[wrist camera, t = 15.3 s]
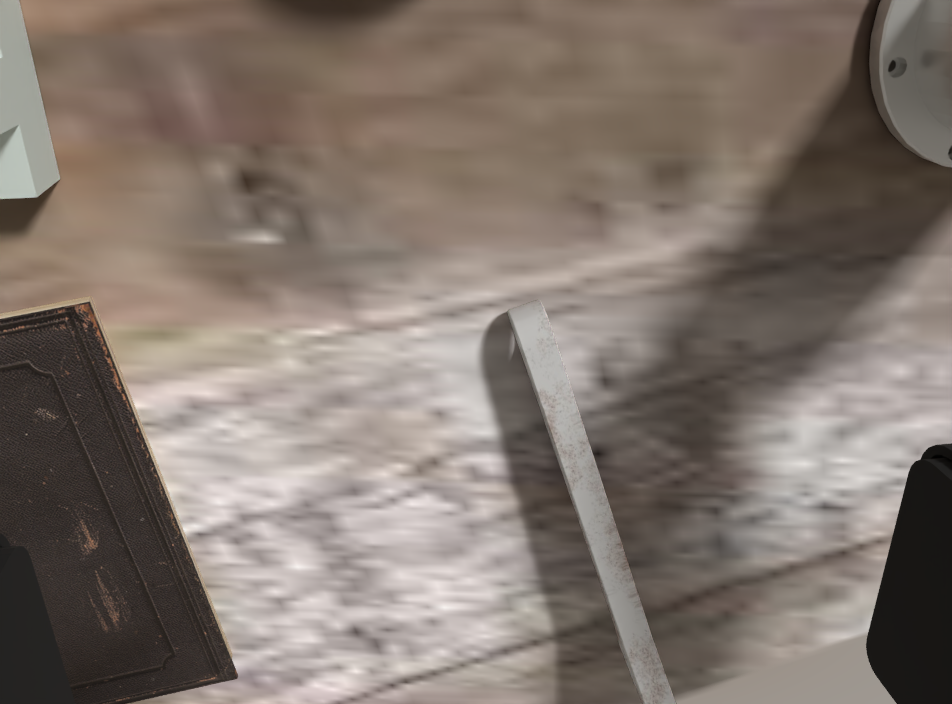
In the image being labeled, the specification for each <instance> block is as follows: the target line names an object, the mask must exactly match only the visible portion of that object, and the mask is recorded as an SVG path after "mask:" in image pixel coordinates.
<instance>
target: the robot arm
mask: <svg viewBox="0 0 952 704" xmlns="http://www.w3.org/2000/svg"><path fill="white" fill-rule="evenodd" d="M889 64H890V66H889ZM869 68H870V78H871V88H872V92H873V95H874V99H875V102H876V105H877V108H878V112H879V114H880V115H881V117H882V119H883V121H884V122H885V124H886V126H887V128H888V129H889V131H890V132H891V133H892V134H893V136H894V137H895V138H896V139H897V140H898V141H899V142H900V143H901V144H902V145H903V146H904V147H905V148H907V149H908V150H910V151H911V152H913V153H915V154H916V155H918V156H919V157H921V158H923V159H926V160H929V161H931V162H934V163H937V164H939V165H942V166H946V167H951V168H952V0H881V1H880V4H879V6H878V10H877V14H876V18H875V22H874V26H873V30H872V34H871V44H870V57H869ZM866 648H867V655H868V659H869V662H870V665H871V667H872V669H873V671H874V673H875V675H876V676H877V678H878V679H879V680H880V682H881V683H882V684H883V686H884V687H885V688H886V690H887V691H888V692H889V694H890V695H891V696H892V698H893V699H894V700H895V702H896V703H897V704H952V444H942V445H935V446H932V447H929V448H928V449H927V450H926V451H925V452H924V453H923V455H922V458H921V460H919V461H916V462H915V463H914V464H913V465H912V466H911V469H910V471H909V474H908V478H907V482H906V486H905V490H904V494H903V498H902V502H901V506H900V510H899V514H898V517H897V521H896V525H895V529H894V533H893V537H892V541H891V545H890V549H889V553H888V557H887V561H886V565H885V569H884V573H883V577H882V581H881V585H880V589H879V593H878V597H877V601H876V605H875V609H874V613H873V617H872V620H871V624H870V628H869V632H868V636H867V643H866ZM0 704H75V701H74V697H73V694H72V691H71V688H70V684H69V681H68V678H67V675H66V671H65V668H64V665H63V661H62V658H61V655H60V652H59V648H58V645H57V642H56V639H55V635H54V632H53V629H52V626H51V622H50V619H49V616H48V613H47V609H46V606H45V603H44V599H43V596H42V593H41V590H40V586H39V583H38V580H37V577H36V573H35V570H34V567H33V564H32V560H31V557H30V555H29V553H28V551H27V550H26V549H25V547H23V546H12V547H11V545H10V543H9V541H8V540H7V538H6V537H5V536H4V535H3V534H0Z"/></svg>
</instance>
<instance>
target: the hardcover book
mask: <svg viewBox="0 0 952 704" xmlns="http://www.w3.org/2000/svg"><path fill="white" fill-rule="evenodd" d="M0 534H3V535H4V536H5V537H6V538H7V540H8V541H9V543H10V545H11V547H12V546H23V547H25V549H26V550H27V551H28V553H29V555H30V557H31V560H32V564H33V567H34V570H35V573H36V577H37V580H38V583H39V586H40V590H41V593H42V596H43V599H44V603H45V606H46V609H47V613H48V616H49V619H50V622H51V626H52V629H53V632H54V635H55V639H56V642H57V645H58V648H59V652H60V655H61V658H62V661H63V665H64V668H65V671H66V675H67V678H68V681H69V684H70V688H71V691H72V694H73V697H74V701H75V704H127V703H131V702H136V701H140V700H145V699H149V698H154V697H158V696H163V695H167V694H171V693H176V692H180V691H185V690H189V689H194V688H198V687H203V686H207V685H211V684H216V683H220V682H225V681H229V680H234V679H237V678H238V674H237V672H236V669H235V667H234V664H233V661H232V652H231V649H230V647H229V644H228V642H227V639H226V637H225V634H224V632H223V629H222V627H221V624H220V621H219V619H218V616H217V614H216V611H215V609H214V606H213V604H212V601H211V599H210V596H209V594H208V591H207V588H206V586H205V583H204V581H203V578H202V576H201V573H200V571H199V568H198V566H197V563H196V560H195V558H194V555H193V553H192V550H191V548H190V545H189V543H188V540H187V538H186V535H185V532H184V530H183V527H182V525H181V522H180V520H179V517H178V515H177V512H176V510H175V507H174V504H173V502H172V499H171V497H170V494H169V492H168V489H167V487H166V484H165V482H164V479H163V476H162V474H161V471H160V469H159V466H158V464H157V461H156V459H155V456H154V454H153V451H152V448H151V446H150V443H149V441H148V438H147V436H146V433H145V431H144V428H143V426H142V423H141V420H140V418H139V415H138V413H137V410H136V408H135V405H134V403H133V400H132V398H131V395H130V392H129V390H128V387H127V385H126V382H125V380H124V377H123V375H122V372H121V370H120V367H119V364H118V362H117V359H116V357H115V354H114V352H113V349H112V347H111V344H110V342H109V339H108V336H107V334H106V331H105V329H104V326H103V324H102V321H101V319H100V316H99V314H98V311H97V308H96V306H95V303H94V301H93V298H92V296H89V297H84V298H79V299H74V300H68V301H63V302H58V303H53V304H48V305H43V306H38V307H33V308H27V309H22V310H17V311H12V312H7V313H2V314H0Z"/></svg>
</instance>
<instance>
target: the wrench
mask: <svg viewBox="0 0 952 704" xmlns="http://www.w3.org/2000/svg"><path fill="white" fill-rule="evenodd" d="M507 313H508V317H509V320H510V323H511V326H512V329H513V331H514V335H515V337H516V340H517V343H518V346H519V349H520V352H521V355H522V358H523V361H524V364H525V367H526V370H527V373H528V376H529V378H530V381H531V384H532V387H533V390H534V393H535V396H536V399H537V402H538V405H539V407H540V410H541V413H542V416H543V419H544V422H545V425H546V428H547V431H548V434H549V437H550V439H551V442H552V445H553V448H554V451H555V454H556V457H557V460H558V463H559V466H560V469H561V471H562V474H563V477H564V480H565V483H566V486H567V489H568V492H569V495H570V498H571V501H572V503H573V506H574V509H575V512H576V515H577V518H578V521H579V524H580V527H581V530H582V532H583V535H584V538H585V541H586V544H587V547H588V550H589V553H590V556H591V559H592V562H593V564H594V567H595V570H596V573H597V576H598V579H599V582H600V585H601V588H602V591H603V594H604V597H605V599H606V602H607V605H608V608H609V611H610V614H611V617H612V620H613V623H614V627H615V630H616V633H617V637H618V643H619V646H620V648H621V651H622V653H623V657H624V659H625V661H626V664H627V667H628V669H629V671H630V675H631V677H632V679H633V683H634V685H635V687H636V689H637V692H638V694H639V697H640V700H641V702H642V704H676V701H675V699H674V696H673V693H672V690H671V688H670V685H669V682H668V679H667V676H666V674H665V671H664V668H663V665H662V662H661V660H660V657H659V654H658V651H657V648H656V646H655V643H654V640H653V637H652V634H651V631H650V628H649V625H648V622H647V619H646V616H645V613H644V610H643V607H642V604H641V601H640V597H639V594H638V591H637V588H636V585H635V582H634V579H633V576H632V573H631V570H630V567H629V564H628V560H627V557H626V554H625V551H624V548H623V545H622V542H621V539H620V536H619V533H618V530H617V527H616V523H615V520H614V517H613V514H612V511H611V508H610V505H609V502H608V499H607V496H606V493H605V490H604V486H603V483H602V480H601V477H600V474H599V471H598V468H597V465H596V462H595V459H594V456H593V453H592V449H591V446H590V443H589V440H588V437H587V434H586V431H585V428H584V425H583V422H582V419H581V416H580V412H579V409H578V406H577V403H576V400H575V397H574V394H573V391H572V388H571V385H570V382H569V379H568V375H567V372H566V369H565V366H564V363H563V360H562V357H561V354H560V351H559V348H558V345H557V342H556V338H555V336H554V333H553V330H552V327H551V324H550V321H549V319H548V316H547V314H546V311H545V309H544V307H543V305H542V303H541V301H540V300H535V301H532V302H529V303H527V304H524V305H521V306H518V307H516V308H513V309H510V310H508V311H507Z"/></svg>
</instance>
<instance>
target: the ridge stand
mask: <svg viewBox="0 0 952 704" xmlns="http://www.w3.org/2000/svg"><path fill="white" fill-rule="evenodd" d="M58 180H60V176H59V171H58V167H57V163H56V158H55V154H54V150H53V145H52V141H51V137H50V132H49V128H48V124H47V119H46V115H45V111H44V106H43V102H42V97H41V93H40V89H39V84H38V80H37V76H36V71H35V67H34V63H33V58H32V54H31V50H30V45H29V41H28V37H27V32H26V28H25V24H24V19H23V15H22V11H21V6H20V2H19V0H0V199H13V198H34V197H38V196H39V195H41V194H42V193H43V192H44V191H46V190H47V189H48V188H49V187H51V186H52V185H53V184H55V183H56V182H57V181H58Z"/></svg>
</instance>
